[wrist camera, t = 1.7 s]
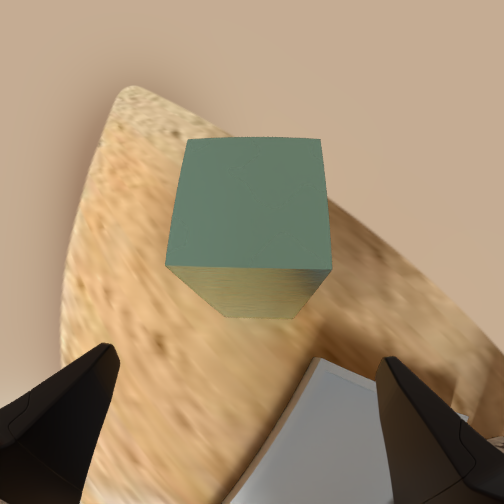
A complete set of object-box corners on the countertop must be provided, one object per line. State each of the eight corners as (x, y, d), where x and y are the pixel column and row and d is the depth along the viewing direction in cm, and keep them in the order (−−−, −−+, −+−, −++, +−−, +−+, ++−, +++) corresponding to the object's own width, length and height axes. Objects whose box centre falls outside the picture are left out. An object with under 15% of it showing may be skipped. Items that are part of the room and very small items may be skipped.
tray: (341, 563, 11) (348, 579, 9) (202, 525, 14) (195, 543, 11) (449, 412, 16) (469, 416, 14) (313, 357, 19) (321, 357, 16)
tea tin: (292, 319, 20) (332, 269, 8) (224, 316, 21) (163, 265, 8) (293, 254, 22) (320, 139, 10) (228, 253, 22) (186, 139, 10)
